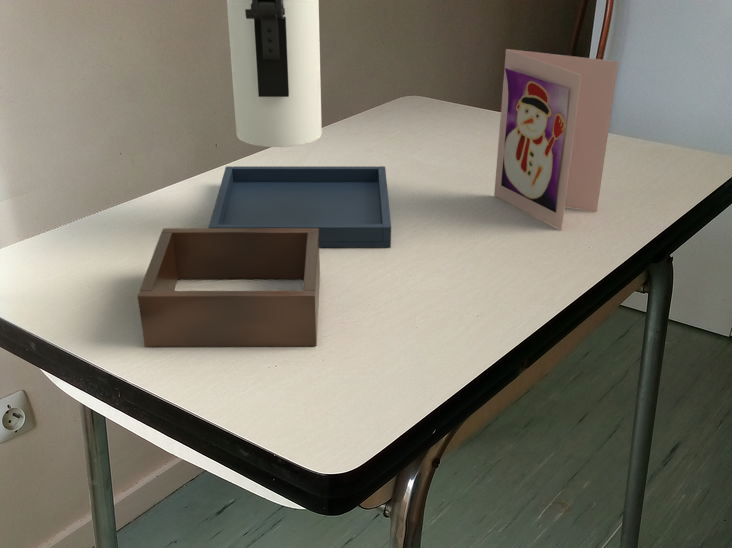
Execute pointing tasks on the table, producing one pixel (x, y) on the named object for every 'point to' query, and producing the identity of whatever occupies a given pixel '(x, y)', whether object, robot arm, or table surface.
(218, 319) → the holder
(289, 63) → the cup
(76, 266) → the table surface
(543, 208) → the greeting card
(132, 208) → the table surface
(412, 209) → the table surface
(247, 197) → the tray
